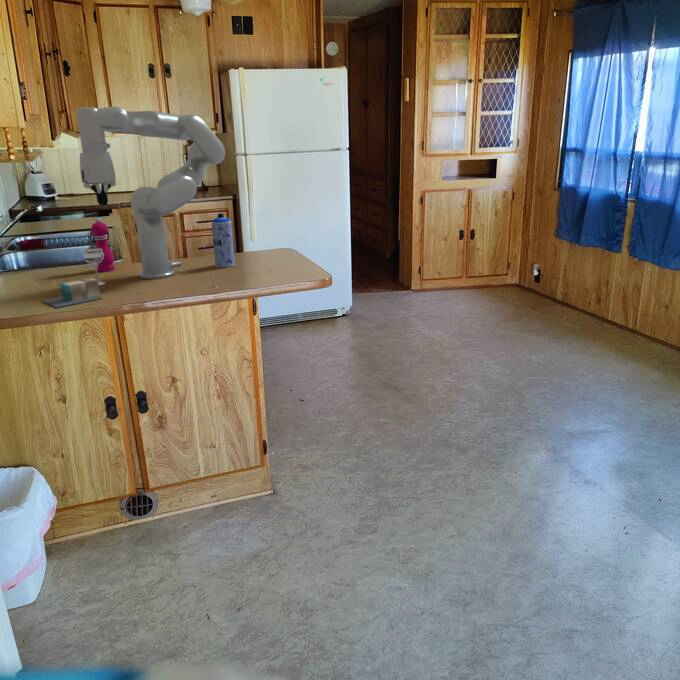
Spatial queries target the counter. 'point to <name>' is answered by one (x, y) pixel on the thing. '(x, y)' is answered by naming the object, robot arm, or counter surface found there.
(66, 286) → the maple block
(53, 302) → the rubber mat
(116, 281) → the counter surface
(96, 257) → the wineglass
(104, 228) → the pepper mill
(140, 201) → the robot arm
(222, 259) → the aerosol can
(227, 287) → the counter surface
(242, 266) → the counter surface
